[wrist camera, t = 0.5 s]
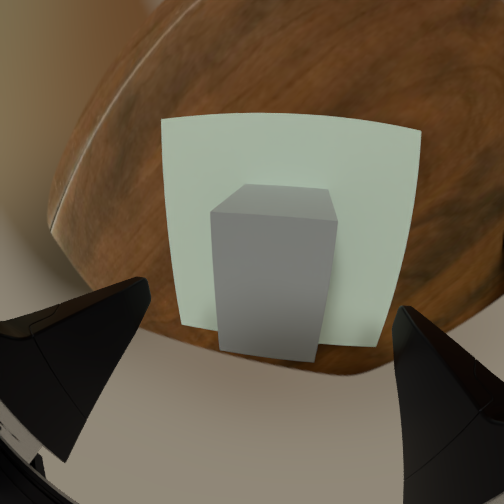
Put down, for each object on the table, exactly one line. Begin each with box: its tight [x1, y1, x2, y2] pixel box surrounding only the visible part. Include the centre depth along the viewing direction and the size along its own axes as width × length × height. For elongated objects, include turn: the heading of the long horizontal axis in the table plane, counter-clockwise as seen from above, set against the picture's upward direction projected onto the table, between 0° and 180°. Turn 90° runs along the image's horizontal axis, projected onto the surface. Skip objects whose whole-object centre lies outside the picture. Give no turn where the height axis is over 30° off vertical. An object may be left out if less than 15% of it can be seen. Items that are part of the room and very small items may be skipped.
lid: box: [161, 113, 421, 362], centre depth 13 cm, size 13×13×7 cm
